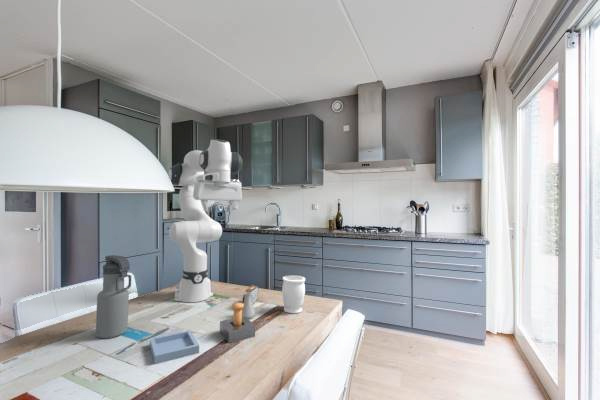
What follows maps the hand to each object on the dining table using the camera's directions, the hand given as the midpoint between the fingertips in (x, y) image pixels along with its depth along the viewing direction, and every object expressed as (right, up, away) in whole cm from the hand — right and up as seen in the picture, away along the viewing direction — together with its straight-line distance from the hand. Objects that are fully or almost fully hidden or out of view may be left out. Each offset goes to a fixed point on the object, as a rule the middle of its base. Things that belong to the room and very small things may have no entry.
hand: (218, 211), depth 119 cm
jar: (+30, -46, +14) cm, 57 cm away
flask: (+11, -46, +6) cm, 47 cm away
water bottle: (-35, -44, -13) cm, 58 cm away
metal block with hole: (+10, -45, -11) cm, 48 cm away
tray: (-8, -45, -23) cm, 51 cm away
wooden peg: (+10, -45, -11) cm, 48 cm away
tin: (+10, -46, +20) cm, 51 cm away
